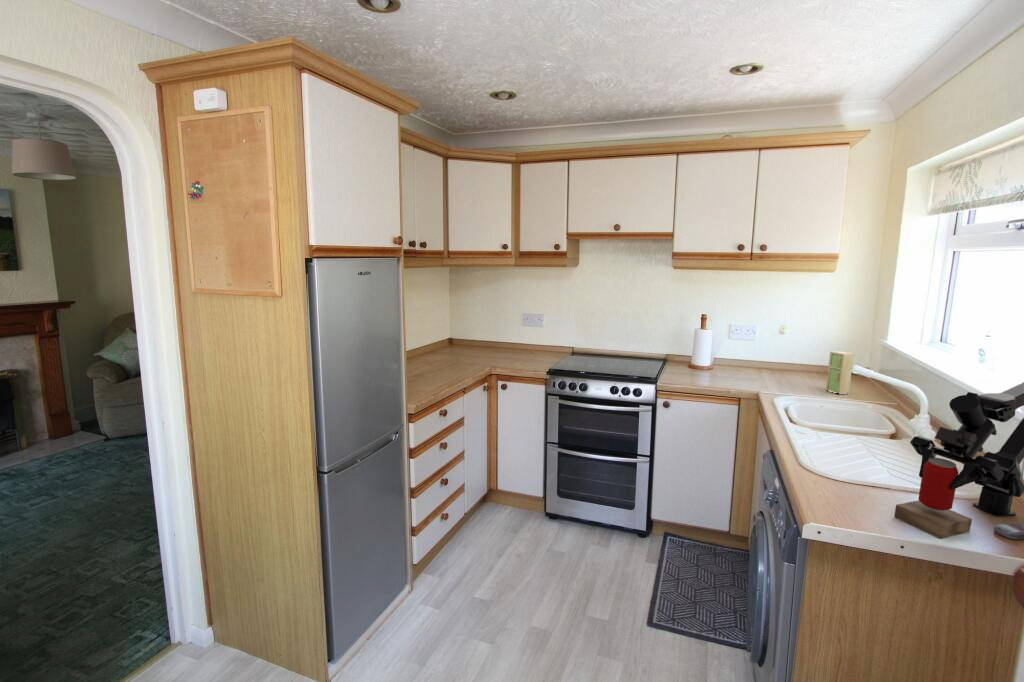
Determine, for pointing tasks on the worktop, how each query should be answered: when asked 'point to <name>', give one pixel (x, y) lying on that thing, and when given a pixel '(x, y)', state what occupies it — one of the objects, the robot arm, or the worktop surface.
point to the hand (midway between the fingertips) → (935, 482)
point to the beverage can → (938, 484)
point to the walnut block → (933, 519)
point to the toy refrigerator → (839, 371)
